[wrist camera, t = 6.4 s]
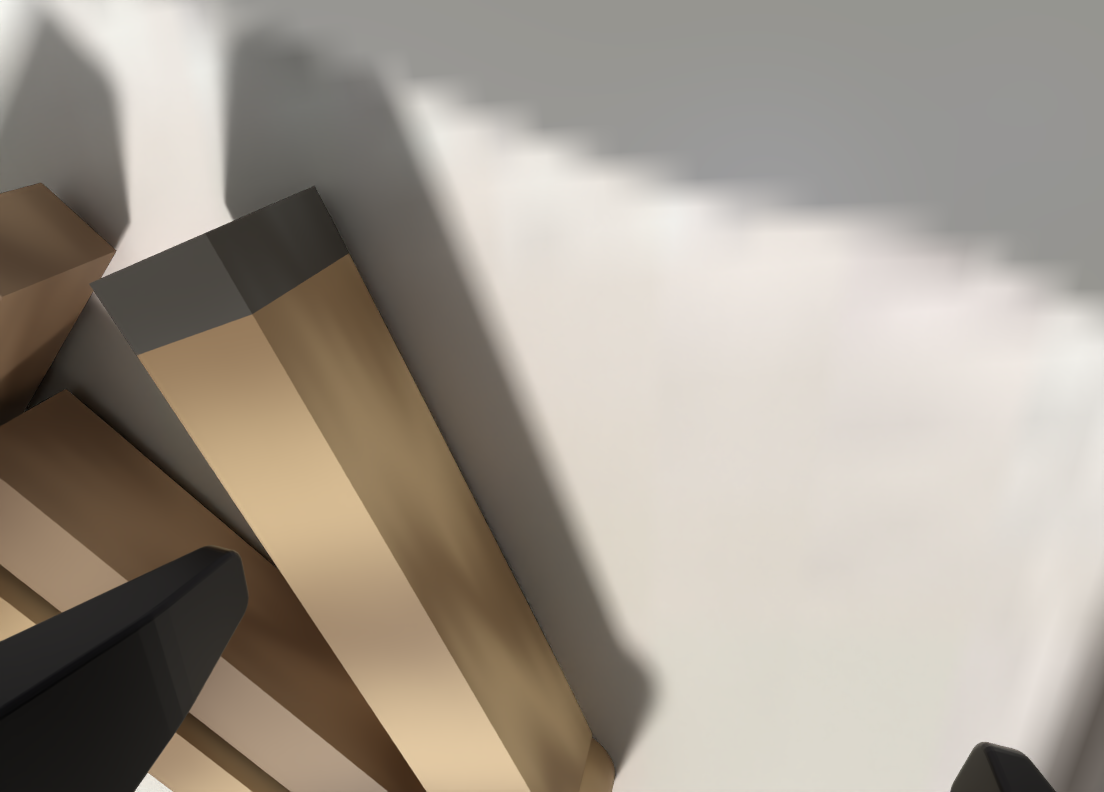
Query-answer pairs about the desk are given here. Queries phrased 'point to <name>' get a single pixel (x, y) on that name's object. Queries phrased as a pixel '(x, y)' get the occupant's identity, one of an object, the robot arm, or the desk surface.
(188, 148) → the desk surface
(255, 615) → the tan rectangular beam
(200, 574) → the robot arm
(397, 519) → the hinged leg
